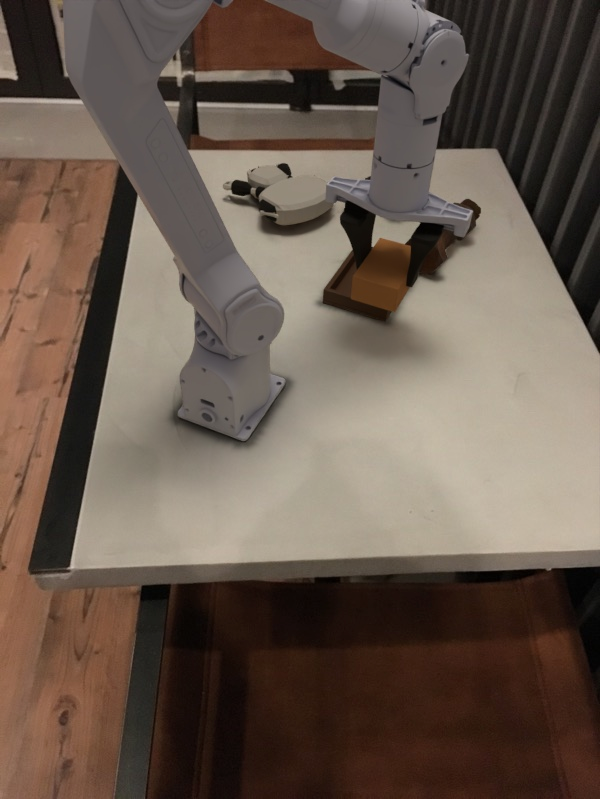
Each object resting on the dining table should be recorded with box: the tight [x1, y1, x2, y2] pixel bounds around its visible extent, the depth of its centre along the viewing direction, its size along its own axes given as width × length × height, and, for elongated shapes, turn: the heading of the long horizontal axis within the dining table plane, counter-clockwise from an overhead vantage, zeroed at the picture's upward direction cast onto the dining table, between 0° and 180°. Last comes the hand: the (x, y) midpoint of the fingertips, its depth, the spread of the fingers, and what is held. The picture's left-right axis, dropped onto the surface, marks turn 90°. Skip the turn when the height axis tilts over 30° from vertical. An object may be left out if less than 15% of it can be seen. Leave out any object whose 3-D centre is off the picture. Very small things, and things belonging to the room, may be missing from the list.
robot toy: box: [222, 162, 335, 226], centre depth 97 cm, size 12×4×15 cm
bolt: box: [404, 198, 482, 275], centre depth 90 cm, size 6×5×15 cm
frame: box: [322, 246, 392, 323], centre depth 85 cm, size 11×8×2 cm
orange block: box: [351, 237, 411, 313], centre depth 73 cm, size 8×5×3 cm, turn 155°
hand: (387, 274), depth 73 cm, fingers closed on orange block, 5 cm apart
